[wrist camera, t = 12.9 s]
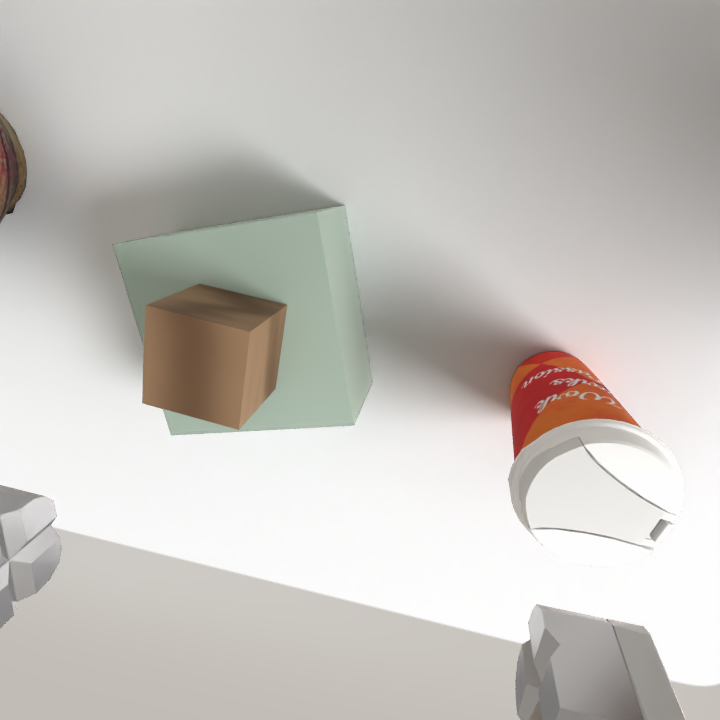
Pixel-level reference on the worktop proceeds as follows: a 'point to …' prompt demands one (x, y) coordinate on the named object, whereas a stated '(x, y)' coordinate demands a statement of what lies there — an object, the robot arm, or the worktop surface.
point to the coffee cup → (586, 466)
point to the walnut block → (212, 353)
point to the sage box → (279, 284)
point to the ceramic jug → (10, 168)
